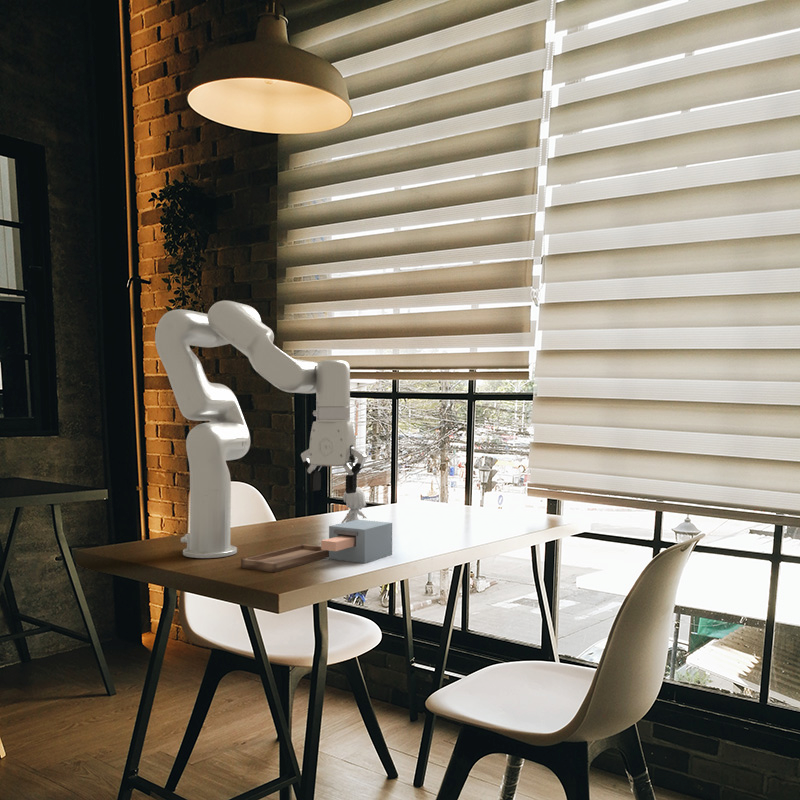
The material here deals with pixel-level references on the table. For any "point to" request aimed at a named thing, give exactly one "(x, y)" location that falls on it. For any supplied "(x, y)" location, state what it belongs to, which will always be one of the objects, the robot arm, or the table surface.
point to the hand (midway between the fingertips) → (332, 491)
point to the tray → (285, 558)
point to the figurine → (354, 504)
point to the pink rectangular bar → (338, 543)
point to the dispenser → (363, 540)
